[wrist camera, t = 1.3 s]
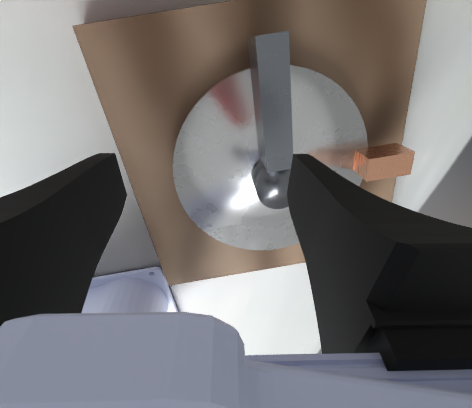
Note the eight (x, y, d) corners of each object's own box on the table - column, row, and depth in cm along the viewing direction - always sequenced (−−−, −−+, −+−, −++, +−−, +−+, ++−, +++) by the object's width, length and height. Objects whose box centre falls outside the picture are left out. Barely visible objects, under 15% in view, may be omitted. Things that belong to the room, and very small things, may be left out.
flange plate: (196, 255, 24) (194, 289, 20) (141, 55, 16) (124, 56, 13) (375, 224, 24) (404, 254, 20) (406, 13, 16) (460, 2, 13)
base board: (170, 274, 27) (168, 285, 26) (82, 27, 17) (72, 25, 15) (375, 239, 27) (383, 249, 26) (414, -26, 17) (432, -32, 16)
